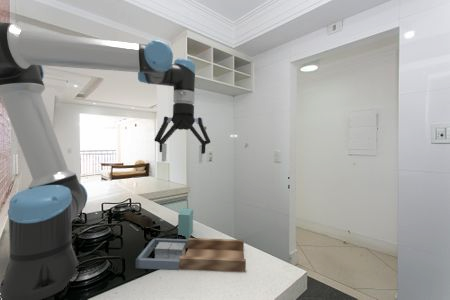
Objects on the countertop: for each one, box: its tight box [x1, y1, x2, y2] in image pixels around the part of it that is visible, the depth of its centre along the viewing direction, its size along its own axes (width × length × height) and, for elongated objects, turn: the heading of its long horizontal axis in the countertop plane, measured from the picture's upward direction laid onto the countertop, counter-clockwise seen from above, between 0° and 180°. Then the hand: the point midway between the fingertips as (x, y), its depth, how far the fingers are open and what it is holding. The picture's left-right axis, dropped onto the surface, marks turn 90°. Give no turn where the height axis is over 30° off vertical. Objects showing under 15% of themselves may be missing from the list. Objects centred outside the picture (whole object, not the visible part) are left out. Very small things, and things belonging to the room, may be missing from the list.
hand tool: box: [123, 210, 154, 229], centre depth 91 cm, size 19×4×5 cm, turn 51°
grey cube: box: [154, 242, 172, 259], centre depth 64 cm, size 4×4×4 cm
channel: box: [179, 237, 247, 273], centre depth 64 cm, size 18×12×4 cm
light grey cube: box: [169, 243, 186, 260], centre depth 64 cm, size 4×4×4 cm
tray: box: [135, 237, 188, 271], centre depth 64 cm, size 12×13×4 cm
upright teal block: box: [177, 208, 194, 240], centre depth 79 cm, size 4×7×10 cm, turn 178°
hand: (182, 162), depth 78 cm, fingers open, 13 cm apart
